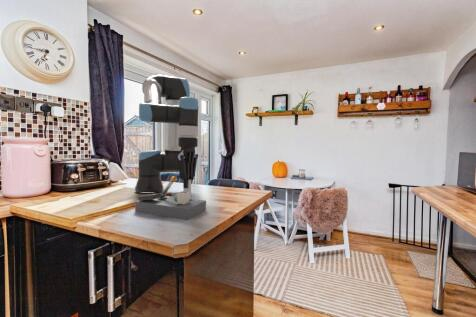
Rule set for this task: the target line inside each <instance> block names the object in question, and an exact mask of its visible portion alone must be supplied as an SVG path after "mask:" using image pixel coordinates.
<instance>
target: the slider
mask: <svg viewBox="0 0 476 317" xmlns="http://www.w3.org/2000/svg"><path fill="white" fill-rule="evenodd" d="M176 195H177V204H186V203H188V202H189V199H190V196H189V192H183V191H180V192H177V193H176Z"/></svg>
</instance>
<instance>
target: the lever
mask: <svg viewBox="0 0 476 317" xmlns="http://www.w3.org/2000/svg"><path fill="white" fill-rule="evenodd" d="M177 181H178V178H177V176H175V175H172V176H171V177H170V179H169V181H168V184H166V186H165V188H163V191H162V192H160V193H161V197H160V198H163V197H165V196H167V192H168V191H169V189H170V188H171V187H172V185H173V184H174V183H175V182H177Z"/></svg>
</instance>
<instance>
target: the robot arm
mask: <svg viewBox="0 0 476 317" xmlns="http://www.w3.org/2000/svg"><path fill="white" fill-rule="evenodd" d="M141 86H142V88H141V89H142V93H143V98H144V99H143V101H144V102H140V103H139V105H138V119H139V120H140V121H141V122H146V123H161V124H163V123H164V124H167V146H166V147H165V148H164V151H163V152H162V151H161V149H151V150H143V151H140V152H139V153H138V178H137V181H136V184H135V187H134V192H135V191H136V192H159V193H162V192H163V191H164V185H163V182H162V177H161V174H162V173H179V174H178V175H179V179H180V180H182V181H183V185H182V186H183V190H182V192H189V197H191V196H192V180H195V176H196V169H197V162H198V158H199V154H198V153H196V149H195V148H197V147H198V146H199V145H198V143H199V142H198V140H199V139H198V135H199V100H198V98H196V97H191V95H190V94H191V93H190V92H191V89H190V84H189V81H188V79H187V78H184V77H180V76H179V77H178V76H169V75H163V74H156V75H151V76H149V77H148V78H145V80H144V81H143V82H142V85H141ZM162 98H165V102H166V103H167V104H163V102H162ZM136 192H135V193H136Z"/></svg>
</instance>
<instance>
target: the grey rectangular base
mask: <svg viewBox="0 0 476 317" xmlns="http://www.w3.org/2000/svg"><path fill="white" fill-rule="evenodd" d="M134 203H135V204H134V205H135V206H134V208H135V209H134V212H137V213H143V214H147V215H155V216H162V217H166V218H173V219H180V220H185V221H187V220H190V219H191V218H194V217H196V216H197V215H200V214H201V213H203V212H205V211H207V201H206V200H202V199H196V198H189V202H188V203H186V204H177V194H174V196H169V195H166V196H165V197H163V198H160V197H159V198H156V199H153V200H141V201H139V200H137V201H135V202H134Z"/></svg>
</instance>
